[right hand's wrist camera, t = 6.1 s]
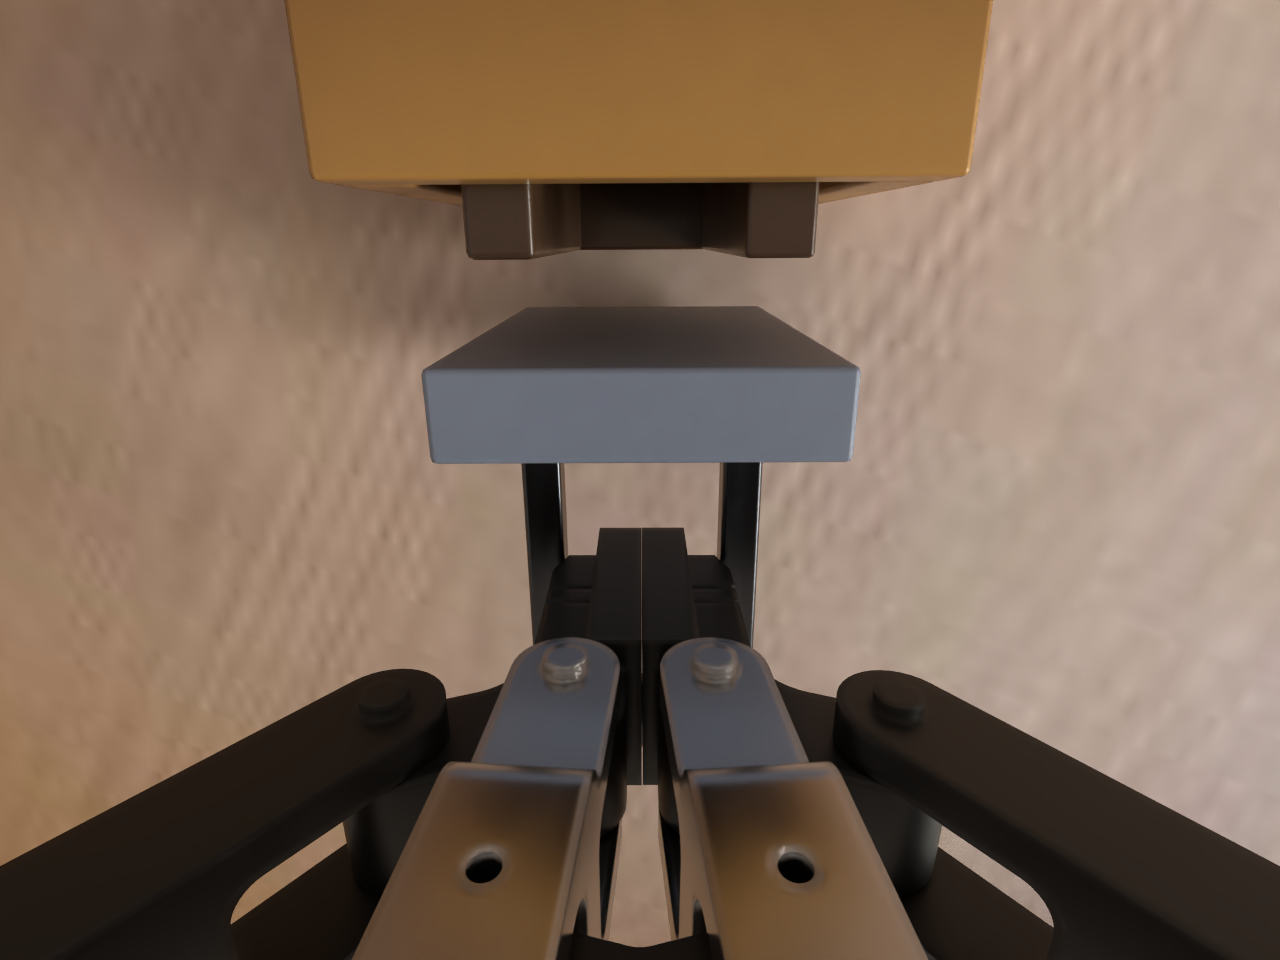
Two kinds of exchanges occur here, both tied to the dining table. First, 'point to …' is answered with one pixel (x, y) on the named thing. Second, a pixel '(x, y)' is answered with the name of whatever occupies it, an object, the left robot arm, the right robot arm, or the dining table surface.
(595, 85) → the cabinet
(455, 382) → the drawer
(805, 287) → the dining table surface
